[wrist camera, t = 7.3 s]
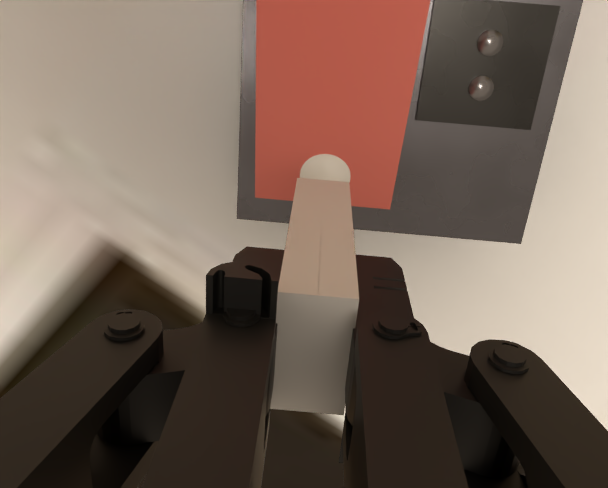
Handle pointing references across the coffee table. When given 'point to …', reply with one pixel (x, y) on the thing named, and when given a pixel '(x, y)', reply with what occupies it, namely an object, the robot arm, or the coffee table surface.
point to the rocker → (334, 93)
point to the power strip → (454, 120)
